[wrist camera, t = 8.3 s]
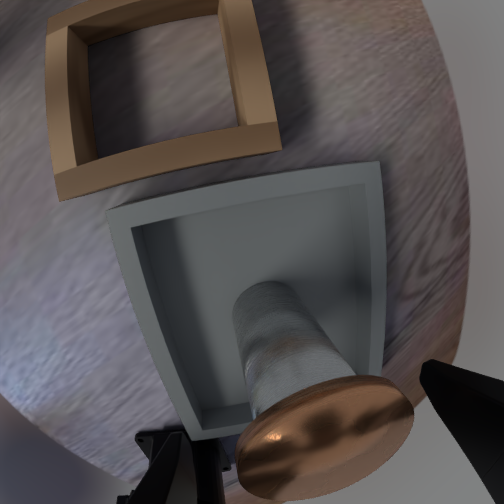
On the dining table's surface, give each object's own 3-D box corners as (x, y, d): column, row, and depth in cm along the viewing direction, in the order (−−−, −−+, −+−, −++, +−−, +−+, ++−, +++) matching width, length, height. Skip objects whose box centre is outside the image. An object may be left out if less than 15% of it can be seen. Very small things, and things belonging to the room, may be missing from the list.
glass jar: (318, 341, 17) (397, 465, 8) (228, 363, 17) (255, 512, 7) (310, 256, 16) (429, 362, 6) (207, 279, 15) (215, 431, 6)
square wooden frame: (267, 153, 15) (282, 149, 12) (84, 195, 14) (59, 201, 11) (236, -4, 12) (243, -32, 9) (68, 37, 11) (47, 18, 8)
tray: (363, 372, 20) (378, 392, 17) (191, 415, 18) (192, 440, 16) (356, 161, 15) (379, 161, 13) (120, 204, 14) (105, 210, 12)
